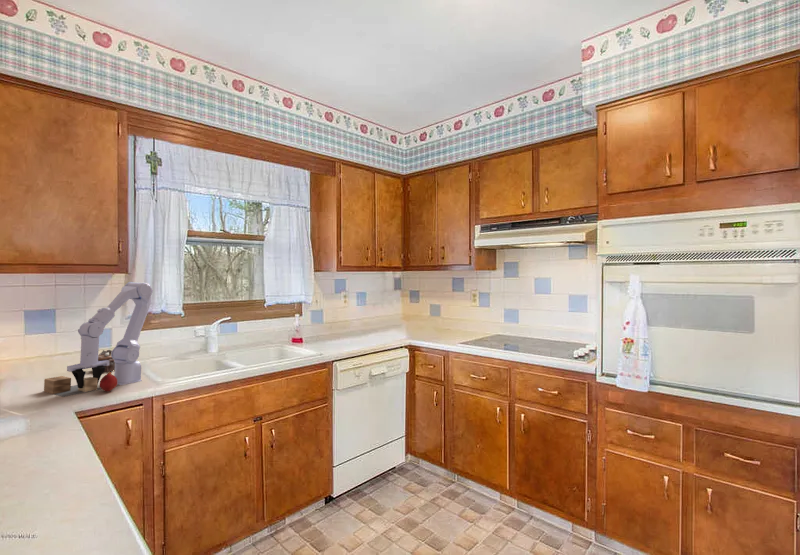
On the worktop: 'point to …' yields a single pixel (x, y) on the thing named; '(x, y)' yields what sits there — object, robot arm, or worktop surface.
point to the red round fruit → (108, 382)
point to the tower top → (57, 381)
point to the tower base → (57, 389)
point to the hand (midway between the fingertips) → (87, 386)
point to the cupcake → (107, 356)
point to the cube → (89, 384)
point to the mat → (72, 391)
